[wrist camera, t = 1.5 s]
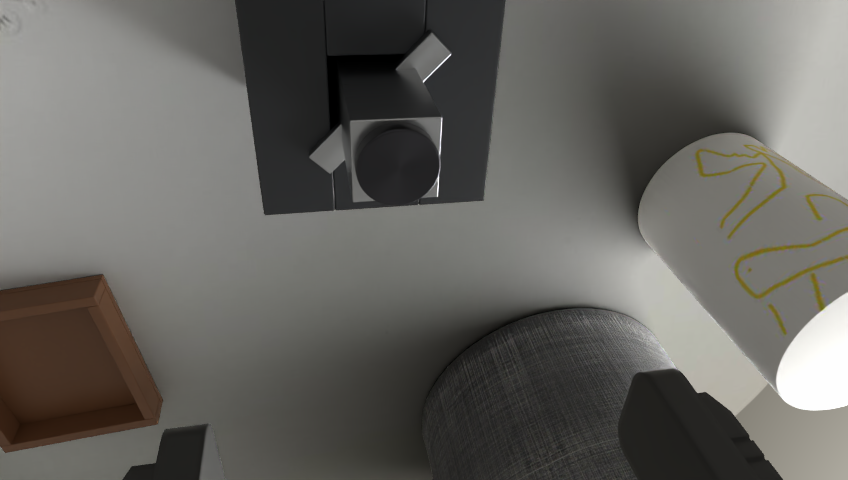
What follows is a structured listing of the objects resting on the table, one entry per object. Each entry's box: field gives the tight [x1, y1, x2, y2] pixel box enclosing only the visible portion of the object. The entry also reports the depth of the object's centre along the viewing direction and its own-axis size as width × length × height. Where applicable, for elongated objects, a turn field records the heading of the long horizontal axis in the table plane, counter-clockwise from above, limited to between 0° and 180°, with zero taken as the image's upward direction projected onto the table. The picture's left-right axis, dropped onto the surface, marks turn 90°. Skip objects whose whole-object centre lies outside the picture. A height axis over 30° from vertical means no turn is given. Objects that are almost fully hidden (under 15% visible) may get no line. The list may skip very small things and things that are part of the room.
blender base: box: [235, 0, 506, 215], centre depth 30 cm, size 10×10×14 cm
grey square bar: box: [309, 30, 452, 206], centre depth 25 cm, size 6×6×15 cm
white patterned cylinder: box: [638, 133, 848, 410], centre depth 42 cm, size 12×12×17 cm
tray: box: [0, 275, 163, 453], centre depth 44 cm, size 14×12×2 cm
